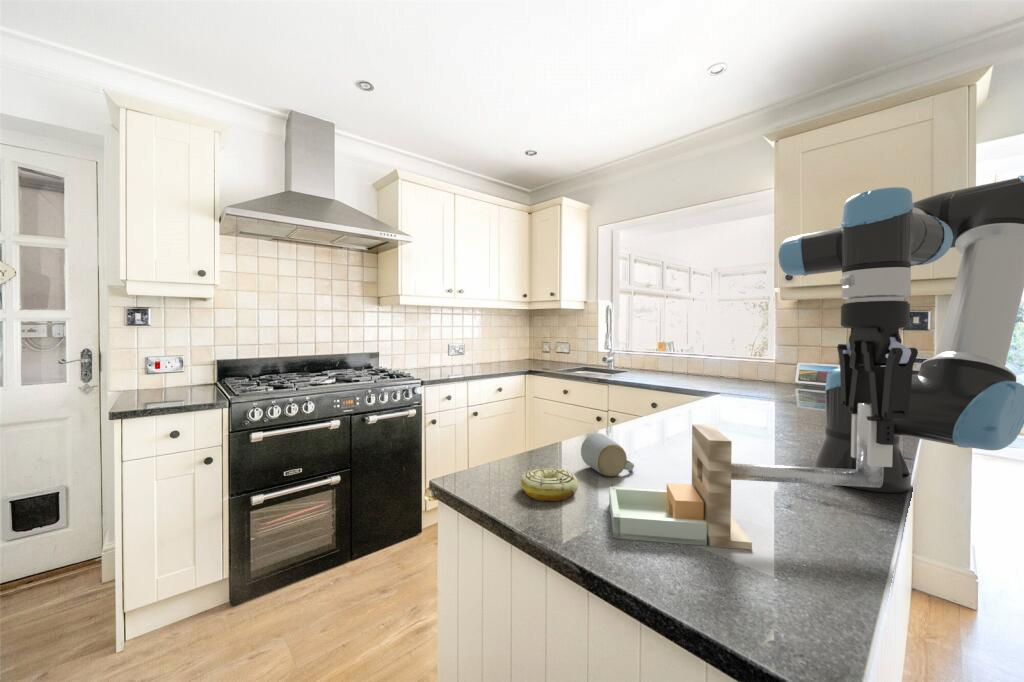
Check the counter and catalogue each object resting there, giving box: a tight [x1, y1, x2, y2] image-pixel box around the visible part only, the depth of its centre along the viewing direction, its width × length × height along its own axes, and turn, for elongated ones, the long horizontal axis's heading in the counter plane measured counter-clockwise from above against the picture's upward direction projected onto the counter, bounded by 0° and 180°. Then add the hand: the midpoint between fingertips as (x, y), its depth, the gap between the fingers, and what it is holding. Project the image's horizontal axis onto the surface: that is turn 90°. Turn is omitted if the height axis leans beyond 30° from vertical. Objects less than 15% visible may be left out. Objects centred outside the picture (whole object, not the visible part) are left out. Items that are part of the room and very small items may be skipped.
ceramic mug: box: [580, 432, 635, 478], centre depth 91 cm, size 11×8×8 cm
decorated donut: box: [520, 467, 579, 502], centre depth 80 cm, size 10×11×4 cm
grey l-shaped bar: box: [731, 402, 883, 488], centre depth 63 cm, size 22×3×12 cm, turn 80°
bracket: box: [691, 424, 753, 550], centre depth 65 cm, size 6×12×15 cm, turn 170°
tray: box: [608, 486, 708, 547], centre depth 67 cm, size 13×12×3 cm
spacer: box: [666, 482, 704, 521], centre depth 66 cm, size 4×7×4 cm, turn 170°
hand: (870, 461), depth 61 cm, fingers closed on grey l-shaped bar, 3 cm apart
